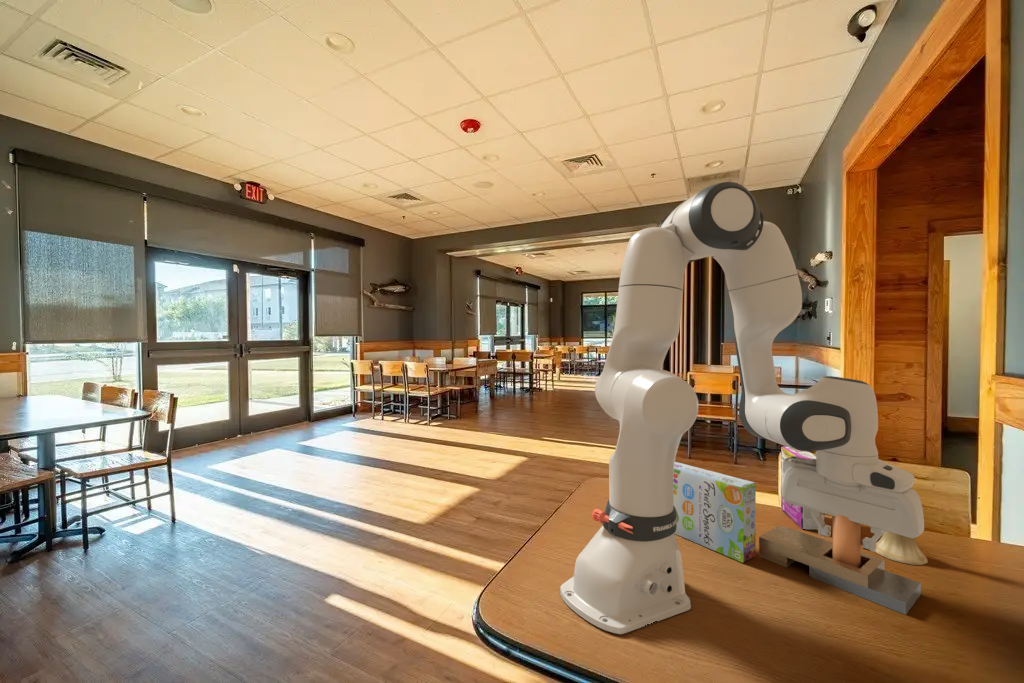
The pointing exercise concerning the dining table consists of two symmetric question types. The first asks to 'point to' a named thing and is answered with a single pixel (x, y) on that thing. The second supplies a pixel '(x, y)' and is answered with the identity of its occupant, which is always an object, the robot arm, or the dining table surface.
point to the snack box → (715, 511)
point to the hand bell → (900, 549)
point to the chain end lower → (877, 589)
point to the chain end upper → (816, 555)
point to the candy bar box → (795, 512)
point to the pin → (846, 541)
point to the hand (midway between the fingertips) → (846, 542)
